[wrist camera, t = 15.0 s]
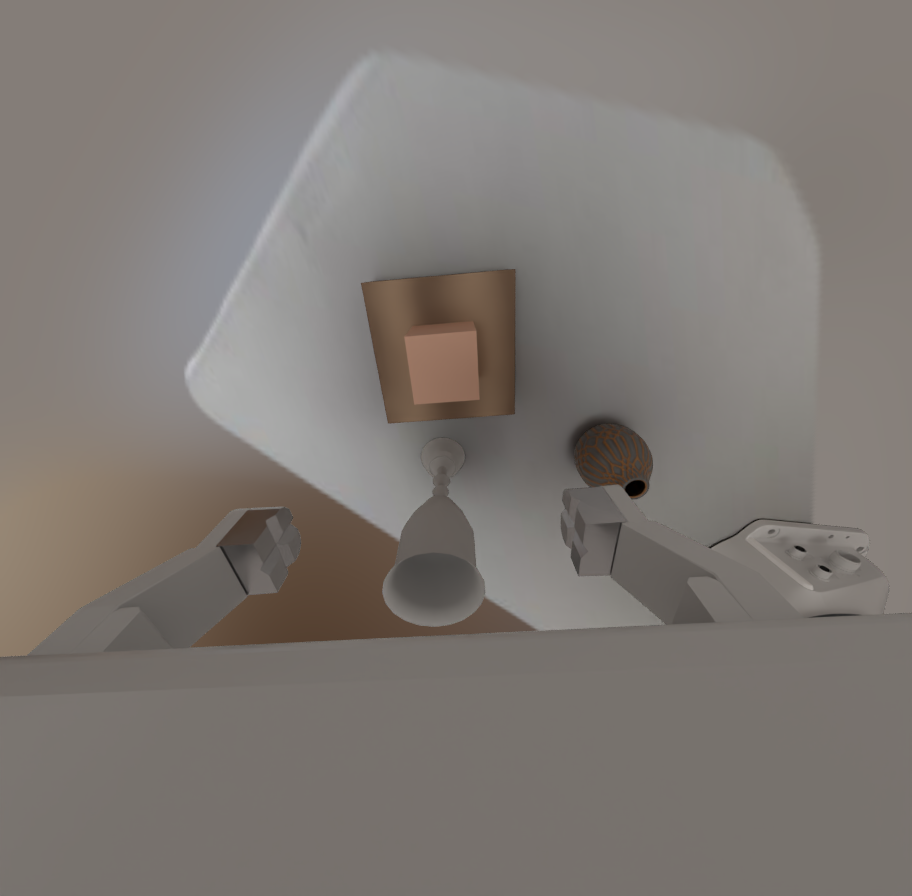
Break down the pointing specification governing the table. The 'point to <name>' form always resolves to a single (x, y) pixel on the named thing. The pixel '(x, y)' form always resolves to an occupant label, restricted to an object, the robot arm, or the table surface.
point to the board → (440, 303)
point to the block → (443, 362)
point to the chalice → (436, 552)
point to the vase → (614, 459)
